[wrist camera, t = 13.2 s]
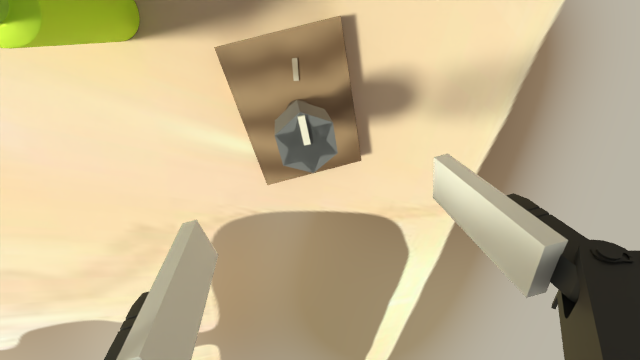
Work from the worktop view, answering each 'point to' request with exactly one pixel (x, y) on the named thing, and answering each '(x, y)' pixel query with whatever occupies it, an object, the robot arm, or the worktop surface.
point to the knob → (305, 137)
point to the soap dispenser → (66, 22)
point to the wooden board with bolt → (292, 88)
